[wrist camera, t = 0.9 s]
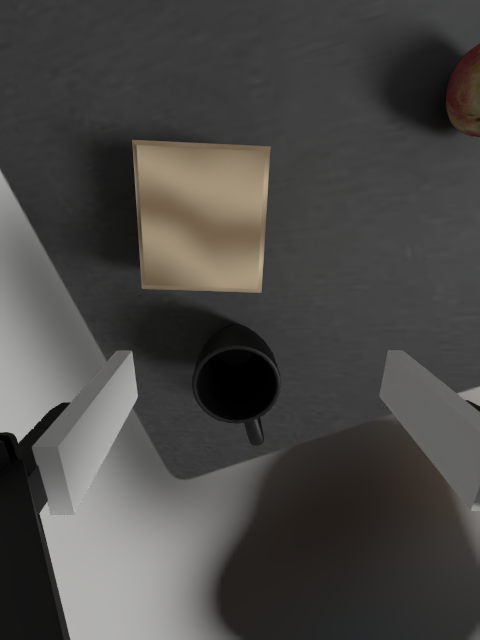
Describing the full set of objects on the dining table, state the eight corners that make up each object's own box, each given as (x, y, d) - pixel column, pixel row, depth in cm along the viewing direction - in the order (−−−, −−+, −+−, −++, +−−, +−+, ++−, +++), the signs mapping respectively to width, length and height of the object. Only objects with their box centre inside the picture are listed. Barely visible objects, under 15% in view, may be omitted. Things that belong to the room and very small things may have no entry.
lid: (143, 149, 26) (130, 138, 23) (266, 154, 27) (270, 145, 23) (150, 282, 30) (140, 289, 27) (258, 286, 30) (261, 293, 27)
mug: (220, 406, 39) (216, 462, 30) (193, 323, 35) (179, 357, 26) (281, 392, 38) (296, 445, 29) (261, 306, 35) (270, 335, 26)
